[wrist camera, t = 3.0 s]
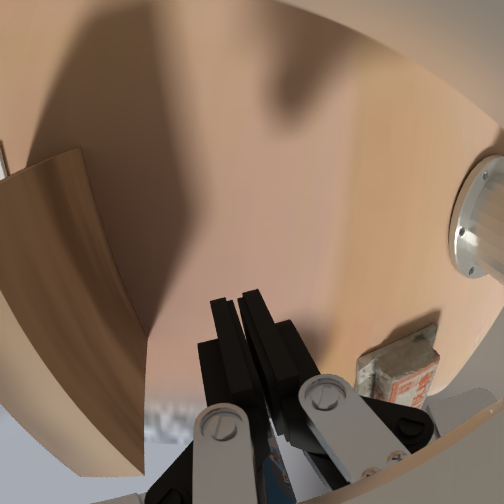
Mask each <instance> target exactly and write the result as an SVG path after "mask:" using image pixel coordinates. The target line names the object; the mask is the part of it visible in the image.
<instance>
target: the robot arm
mask: <svg viewBox="0 0 504 504" xmlns="http://www.w3.org/2000/svg"><path fill="white" fill-rule="evenodd" d="M449 251H450V257H451V260H452V263H453V265H454V267H455V268H456V270H458V271H459V272H460V273H461V274H462V275H464V276H465V277H467V278H471V279H476V278H480V277H482V276H484V275H486V274H489V275H491V276H492V277H493V278H495V279H496V280H497V281H499V282H500V283H501V284H503V285H504V156H501V155H491V156H488V157H486V158H484V159H483V160H482V161H481V162H479V163H478V164H477V165H476V167H475V168H474V169H473V170H472V171H471V173H470V174H469V176H468V177H467V179H466V181H465V182H464V184H463V186H462V189H461V191H460V193H459V195H458V198H457V201H456V204H455V206H454V210H453V214H452V218H451V224H450V231H449ZM242 295H243V297H242V298H238V305H239V309H240V314H241V318H242V323H243V327H244V332H245V336H246V339H245V336H244V333H243V330H242V327H241V324H240V321H239V318H238V315H237V312H236V309H235V306H234V303H233V300H230V301H226V298H225V297H224V298H220V299H216V300H212V301H210V304H211V309H212V314H213V318H214V323H215V327H216V332H217V336H218V339H214V340H210V341H206V342H202V343H198V353H199V360H200V366H201V372H202V378H203V384H204V390H205V396H206V402H207V408H205V409H204V410H203V411H202V412H201V413H200V414H199V415H198V417H197V418H196V420H195V424H194V439H193V441H192V442H191V443H190V444H189V445H188V447H187V448H186V449H185V450H184V451H183V452H182V453H181V455H180V456H179V457H178V458H177V459H176V460H175V461H174V463H173V464H172V465H171V466H170V467H169V468H168V469H167V470H166V471H165V472H164V473H163V475H162V476H161V477H160V478H159V479H158V480H157V481H156V482H155V483H154V484H153V485H152V486H151V488H150V489H149V490H148V492H146V493H143V494H139V495H138V494H137V493H134V494H130V495H126V496H122V497H119V498H114V499H110V500H106V501H102V502H97V503H92V504H268V496H267V488H266V481H265V473H264V466H263V463H264V461H265V460H266V458H267V457H268V455H269V454H270V452H271V450H270V446H269V442H268V439H269V438H272V437H273V436H272V431H271V427H270V422H269V418H268V413H267V409H266V405H267V407H268V410H269V413H270V416H271V419H272V421H273V424H274V427H275V430H276V432H277V435H278V436H279V435H283V434H284V436H285V439H286V441H287V442H290V444H291V446H293V447H296V448H299V449H302V450H303V453H304V455H305V456H306V458H307V459H308V461H309V462H310V464H311V466H312V467H313V469H314V470H315V472H316V473H317V475H318V476H319V478H320V479H321V481H322V482H323V484H324V485H325V487H326V488H327V489H328V491H329V493H327V494H324V495H321V496H318V497H315V498H313V499H309V500H307V501H303V502H300V503H297V504H504V398H503V399H501V400H499V401H497V400H496V398H495V396H494V395H493V394H492V393H491V392H490V391H488V390H487V389H483V388H477V389H473V390H470V391H468V392H465V393H462V394H460V395H457V396H454V397H451V398H448V399H445V400H442V401H439V402H436V403H433V404H430V405H428V406H427V408H425V409H422V410H421V409H418V408H414V407H409V406H404V405H400V404H395V403H391V402H386V401H382V400H377V399H373V398H369V397H365V396H361V395H358V393H357V392H356V391H355V390H354V389H353V388H352V387H351V385H350V384H349V383H348V382H347V381H345V380H344V379H343V378H341V377H339V376H337V375H332V374H320V372H319V370H318V368H317V366H316V364H315V363H314V361H313V359H312V357H311V355H310V354H309V352H308V350H307V348H306V346H305V344H304V343H303V341H302V339H301V337H300V335H299V334H298V332H297V330H296V328H295V326H294V324H293V323H292V321H291V320H290V319H289V320H286V321H282V322H279V323H274V321H273V319H272V317H271V315H270V313H269V311H268V308H267V306H266V304H265V302H264V300H263V298H262V296H261V294H260V292H259V290H258V289H256V290H252V291H248V292H244V293H242ZM246 341H247V342H246ZM265 402H266V404H265Z"/></svg>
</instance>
